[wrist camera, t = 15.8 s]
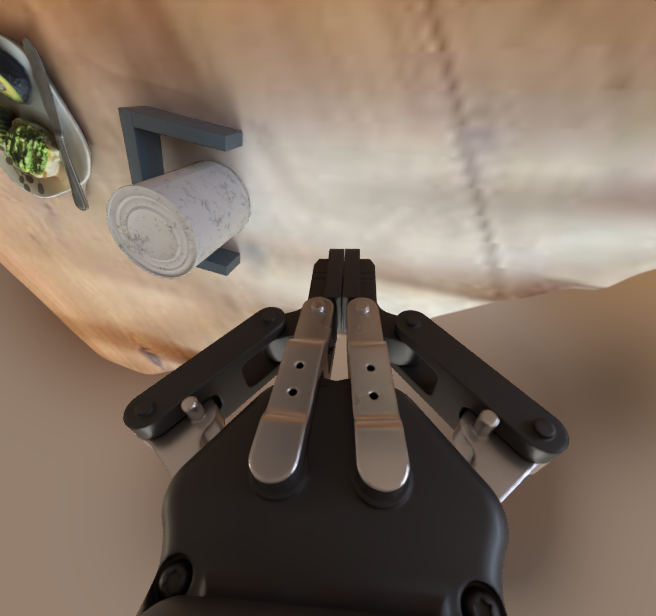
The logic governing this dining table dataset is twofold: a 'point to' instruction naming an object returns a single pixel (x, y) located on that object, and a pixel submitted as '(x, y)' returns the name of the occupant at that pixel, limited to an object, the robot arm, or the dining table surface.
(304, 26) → the dining table surface
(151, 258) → the white marbled can
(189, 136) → the can bay
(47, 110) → the avocado toast plate
